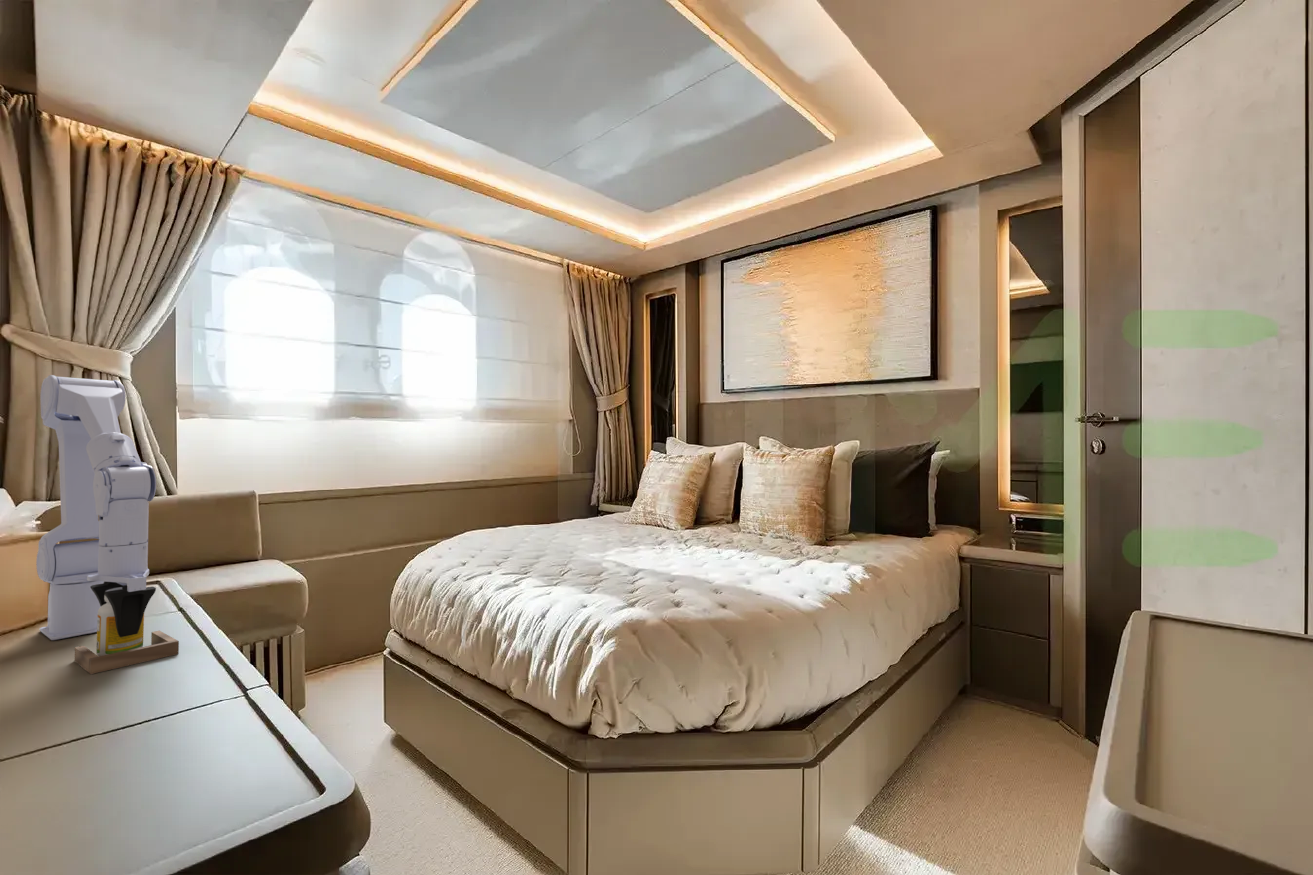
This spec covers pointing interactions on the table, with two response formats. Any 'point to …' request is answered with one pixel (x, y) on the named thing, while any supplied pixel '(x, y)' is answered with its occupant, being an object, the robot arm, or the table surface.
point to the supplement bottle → (114, 632)
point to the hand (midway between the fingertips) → (122, 631)
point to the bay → (127, 654)
